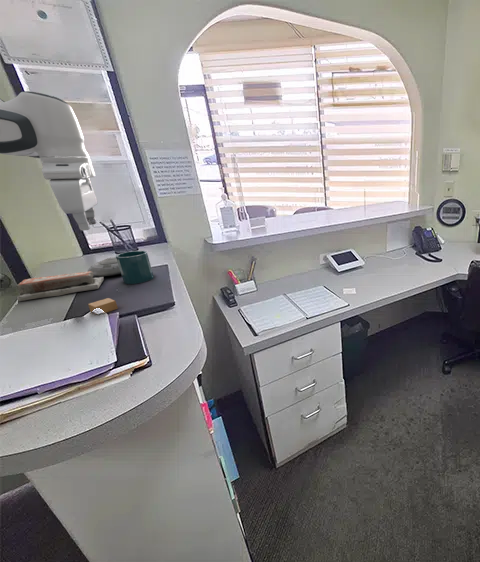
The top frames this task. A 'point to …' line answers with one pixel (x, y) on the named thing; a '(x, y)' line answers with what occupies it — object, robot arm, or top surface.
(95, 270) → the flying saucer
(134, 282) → the tea cup
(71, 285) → the packaged product
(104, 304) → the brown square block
